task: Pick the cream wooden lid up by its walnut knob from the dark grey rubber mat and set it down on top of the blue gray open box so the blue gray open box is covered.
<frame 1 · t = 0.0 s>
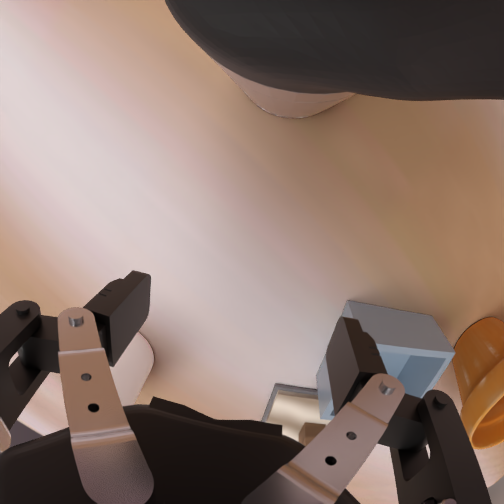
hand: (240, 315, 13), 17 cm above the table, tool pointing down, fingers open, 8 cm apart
mat: (311, 422, 39), on the table
flower pot: (477, 343, 32), on the table
cup: (124, 355, 37), on the table
blue gray open box: (374, 347, 33), on the table
lid: (311, 424, 38), resting on mat
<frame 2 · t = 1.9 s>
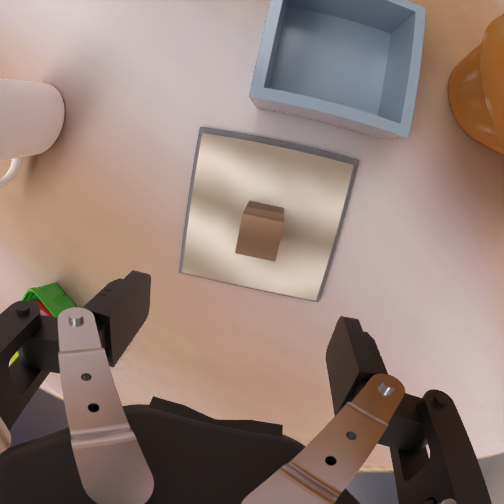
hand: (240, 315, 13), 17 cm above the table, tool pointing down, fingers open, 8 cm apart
mat: (263, 217, 28), on the table
flower pot: (480, 102, 22), on the table
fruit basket: (69, 318, 35), on the table
cup: (37, 133, 27), on the table
blue gray open box: (330, 64, 23), on the table
lid: (263, 218, 28), resting on mat
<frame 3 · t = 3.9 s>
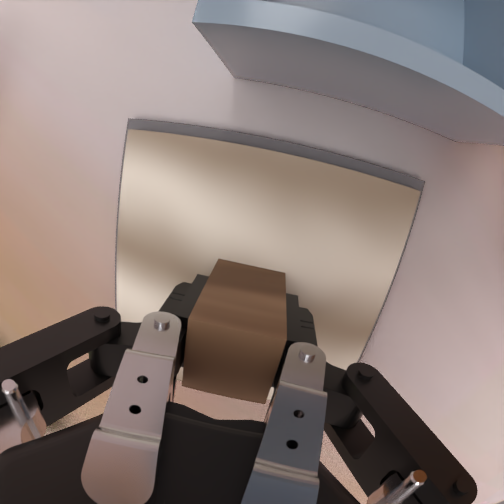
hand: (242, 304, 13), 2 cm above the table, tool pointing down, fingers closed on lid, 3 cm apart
mat: (248, 283, 15), on the table
blue gray open box: (371, 5, 10), on the table
lid: (247, 287, 15), point 1 cm above the table, touching gripper, mat
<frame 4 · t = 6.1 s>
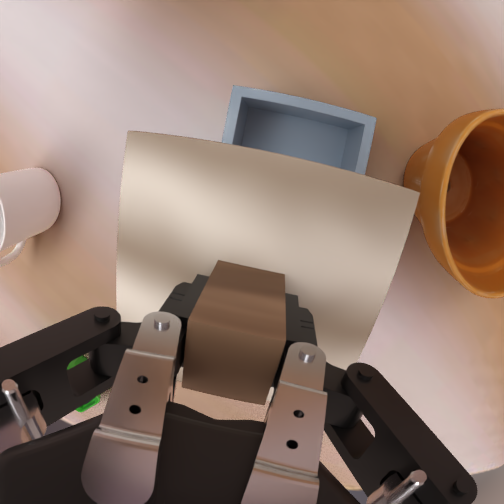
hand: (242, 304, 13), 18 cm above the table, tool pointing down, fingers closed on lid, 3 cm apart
flower pot: (437, 184, 28), on the table
cup: (38, 211, 33), on the table
blue gray open box: (288, 165, 29), on the table
lid: (246, 288, 15), point 17 cm above the table, touching gripper
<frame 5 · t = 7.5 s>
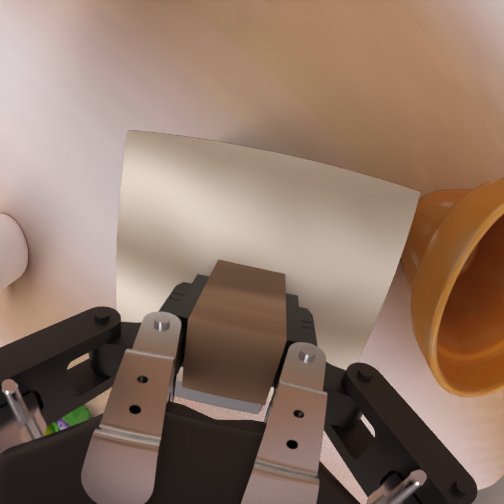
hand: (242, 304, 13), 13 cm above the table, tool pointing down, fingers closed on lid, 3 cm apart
mat: (205, 356, 31), on the table
flower pot: (439, 238, 25), on the table
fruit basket: (62, 397, 38), on the table
cup: (8, 257, 30), on the table
lid: (247, 288, 15), point 11 cm above the table, touching gripper
when the fingers open (10 cm above the table, at t = 8.6 s): lid drops 1 cm, resting on blue gray open box.
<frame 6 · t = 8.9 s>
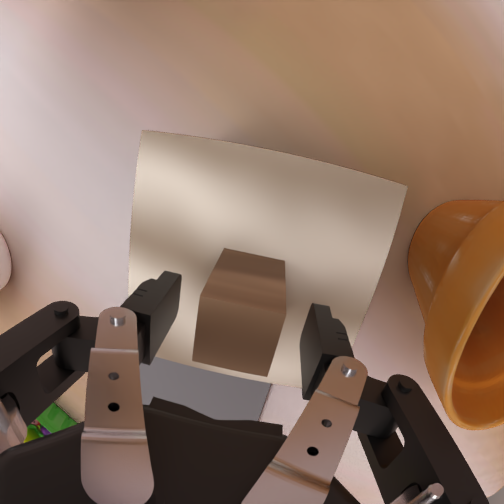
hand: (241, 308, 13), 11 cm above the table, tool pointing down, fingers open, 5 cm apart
mat: (196, 376, 28), on the table
flower pot: (451, 252, 22), on the table
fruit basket: (51, 409, 35), on the table
lid: (250, 275, 16), point 7 cm above the table, touching blue gray open box
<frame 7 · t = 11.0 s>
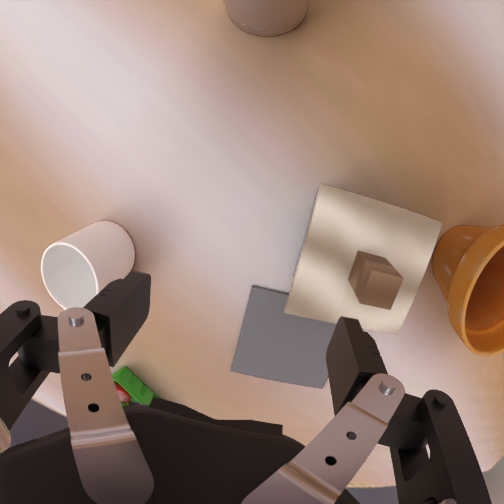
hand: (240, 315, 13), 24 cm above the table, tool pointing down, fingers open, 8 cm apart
mat: (291, 342, 41), on the table
flower pot: (457, 256, 35), on the table
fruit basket: (134, 388, 47), on the table
cup: (106, 260, 39), on the table
lid: (364, 265, 29), point 7 cm above the table, touching blue gray open box
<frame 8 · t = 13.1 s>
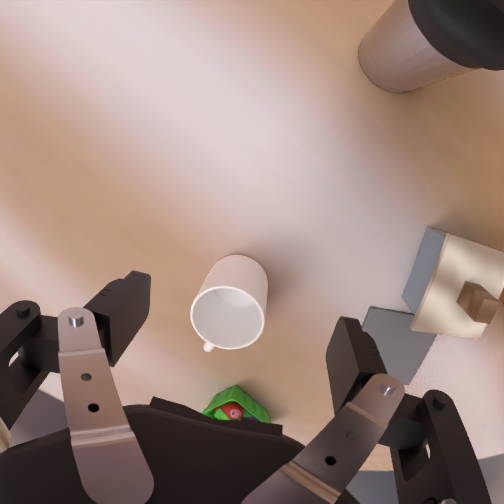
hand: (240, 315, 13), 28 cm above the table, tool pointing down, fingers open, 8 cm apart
mat: (392, 349, 45), on the table
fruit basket: (239, 404, 52), on the table
cup: (232, 290, 44), on the table
blue gray open box: (443, 270, 40), on the table
lid: (465, 290, 33), point 7 cm above the table, touching blue gray open box
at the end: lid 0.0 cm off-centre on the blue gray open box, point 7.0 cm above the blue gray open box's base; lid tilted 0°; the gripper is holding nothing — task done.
